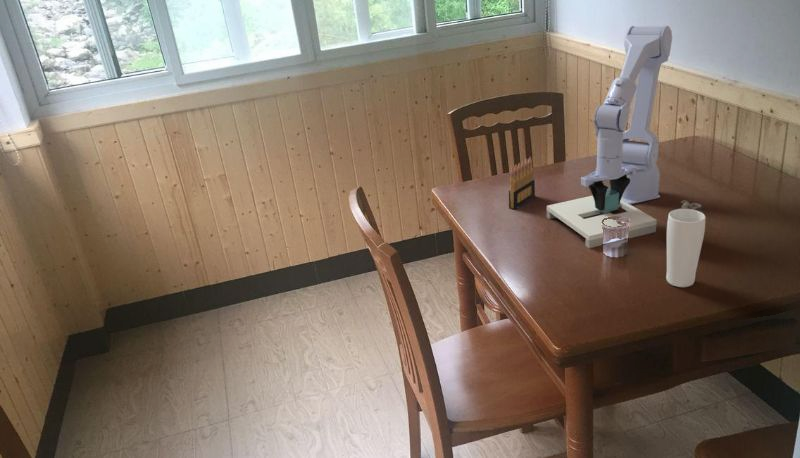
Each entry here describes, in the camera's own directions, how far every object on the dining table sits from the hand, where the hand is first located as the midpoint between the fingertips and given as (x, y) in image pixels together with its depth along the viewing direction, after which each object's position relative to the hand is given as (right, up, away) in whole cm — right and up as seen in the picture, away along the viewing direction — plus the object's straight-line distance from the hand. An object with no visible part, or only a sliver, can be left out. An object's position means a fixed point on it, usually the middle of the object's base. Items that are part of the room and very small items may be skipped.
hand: (607, 206), depth 152 cm
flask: (+13, -9, -12) cm, 20 cm away
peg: (0, -4, +2) cm, 4 cm away
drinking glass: (+6, -16, -26) cm, 31 cm away
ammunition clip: (-17, +2, +19) cm, 26 cm away
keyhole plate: (-2, -4, +1) cm, 5 cm away
